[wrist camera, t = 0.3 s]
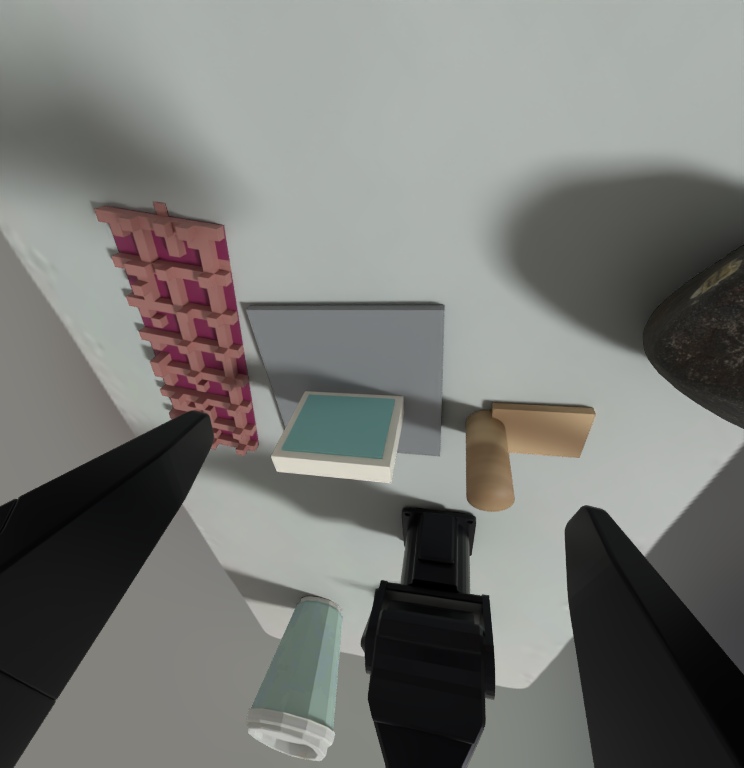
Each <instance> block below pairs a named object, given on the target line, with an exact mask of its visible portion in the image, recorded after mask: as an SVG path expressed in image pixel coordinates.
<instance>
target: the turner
mask: <svg viewBox="0 0 744 768" xmlns="http://www.w3.org/2000/svg"><path fill="white" fill-rule="evenodd" d="M595 416H596V413H595V411H594V409H593V408H585V407H566V406H546V405H527V404H507V403H493V404H492V411H488V410H482V411H477V412H475V413H473V414H471V415H470V416H469V417H468V418H467V420H466V495H467V501H468V502H469V503H470V504H471V505H472V506H473V507H475V508H477V509H479V510H483V511H490V512H495V511H502V510H505V509H507V508H509V507H510V506H512V504H513V503H514V500H515V498H514V490H513V482H512V474H511V467H510V459H509V452H511V453H524V454H537V455H549V456H562V457H575V458H579V457H580V455H581V452H582V450H583V447H584V444H585V442H586V439H587V437H588V434H589V431H590V429H591V426H592V423H593V421H594V418H595Z"/></svg>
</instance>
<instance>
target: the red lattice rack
mask: <svg viewBox="0 0 744 768" xmlns="http://www.w3.org/2000/svg"><path fill="white" fill-rule="evenodd" d="M153 203H154V207H155V211H156V214H152V213H146V212H140V211H134V210H127V209H121V208H115V207H109V206H102V207H99V208H96V209H94V210H95V213H96V216H97V219H98V221H99V222H105V223H109V225H110V228H111V231H112V233H113V236H114V239H115V242H116V245H117V248H118V251H119V253H117V254H115V255H113V256H111V257H112V260H113V262H114V265H115V267H119V268H125V271H126V273H127V276H128V279H129V282H130V285H131V288H132V291H133V293H131V294H129V295H128V296H126V298H127V301H128V303H129V306H134V307H138V308H139V311H140V313H141V316H142V319H143V322H144V325H145V327H144V328H143V329H141V330H140V331H139V333H140V336H141V339H142V340H147V341H150V342H151V345H152V348H153V351H154V353H155V356H156V357H154V358H153V359H152V360H151V361H150V363H151V366H152V369H153V372H154V374H155V376H158V377H163V379H164V382H165V385H164V386H163V387H162V388H161V389H160V391H161V393H162V395H163V396H168V397H170V399H171V402H172V405H173V409H172V410H171V411H170V412H169V415H170V418H171V419H174V418H176V417H178V416H180V415H182V414H184V413H186V412H188V411H191V410H196V411H200V412H204V413H207V414H208V415H209V416H210V419H211V424H212V428H213V433H214V441H213V445H212V447H211V449H216V447H217V446H218V445H219V444H222V445H227V446H231V447H236V452H237V454H238V455H242V456H244V455H245V454H246V452H247V450H250V451H254V452H255V451H256V449H257V447H258V446H259V442H258V436H257V430H256V423H255V417H254V411H253V405H252V398H251V392H250V386H249V380H248V373H247V367H246V361H245V355H244V348H243V342H242V336H241V330H240V323H239V317H238V311H237V305H236V298H235V292H234V286H233V280H232V274H231V267H230V261H229V255H228V249H227V242H226V236H225V230H224V225H219V224H213V223H207V222H201V221H195V220H189V219H182V218H176V217H170V216H168V212H167V208H166V204H165V203H159V202H153Z"/></svg>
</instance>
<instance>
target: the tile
mask: <svg viewBox="0 0 744 768" xmlns="http://www.w3.org/2000/svg"><path fill="white" fill-rule="evenodd" d="M403 416H404V397H403V396H390V395H370V394H350V393H331V392H311V391H305V392H304V394H303V396H302V398H301V400H300V402H299V404H298V406H297V408H296V409H295V411H294V413H293V415H292V417H291V419H290V421H289V423H288V425H287V426H286V428H285V430H284V432H283V434H282V436H281V438H280V440H279V442H278V443H277V445H276V447H275V449H274V451H273V453H272V455H271V458H272V460H273V463H274V465H275V468H276V471H277V472H286V473H296V474H306V475H316V476H325V477H335V478H345V479H355V480H365V481H375V482H384V483H391V482H392V477H393V471H394V466H395V460H396V455H397V449H398V444H399V438H400V433H401V427H402V422H403Z"/></svg>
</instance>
